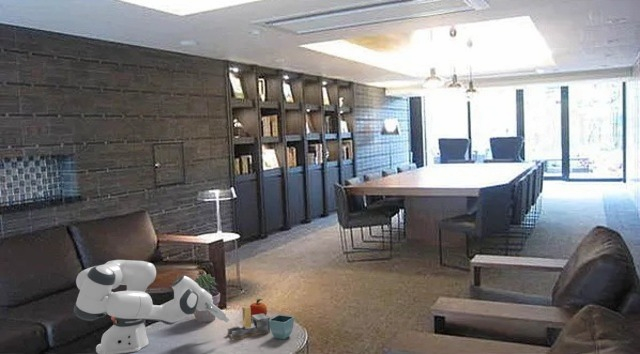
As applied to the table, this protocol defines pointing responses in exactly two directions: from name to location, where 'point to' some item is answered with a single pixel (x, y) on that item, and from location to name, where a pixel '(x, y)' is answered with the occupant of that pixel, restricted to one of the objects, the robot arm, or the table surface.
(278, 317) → the flower pot
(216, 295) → the potted plant
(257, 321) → the rail base
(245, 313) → the tall wooden block
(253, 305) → the fruit
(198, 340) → the table surface
